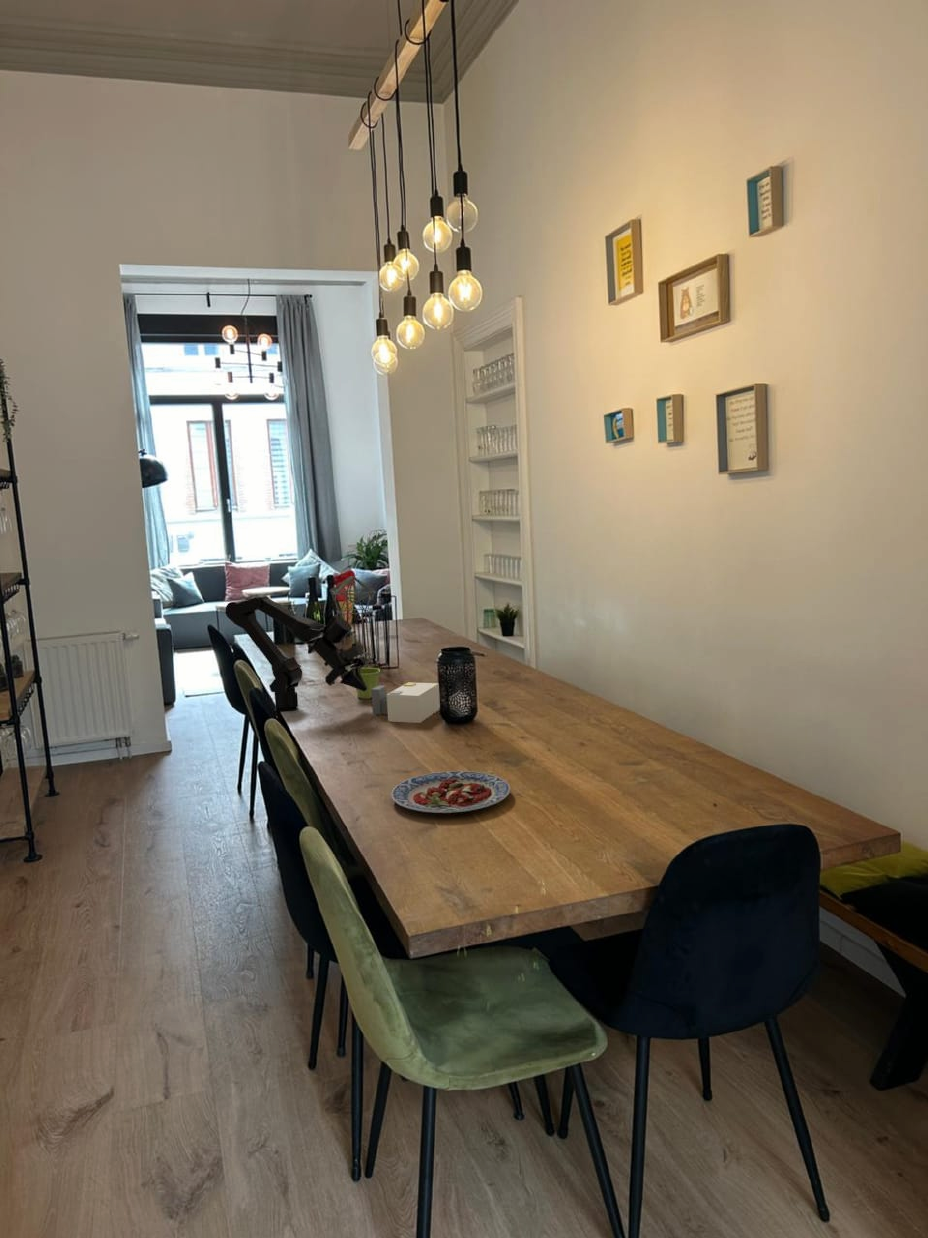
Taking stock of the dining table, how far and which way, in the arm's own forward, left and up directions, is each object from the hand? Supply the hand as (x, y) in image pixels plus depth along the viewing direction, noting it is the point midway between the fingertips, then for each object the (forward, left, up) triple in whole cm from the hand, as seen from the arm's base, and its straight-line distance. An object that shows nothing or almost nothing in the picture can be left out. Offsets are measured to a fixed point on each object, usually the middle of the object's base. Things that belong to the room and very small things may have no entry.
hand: (366, 690), depth 269 cm
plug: (+7, -4, -7) cm, 10 cm away
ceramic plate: (+12, -81, -7) cm, 82 cm away
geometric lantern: (+2, +70, -7) cm, 70 cm away
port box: (+13, -8, -7) cm, 17 cm away
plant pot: (+2, +21, -7) cm, 22 cm away
